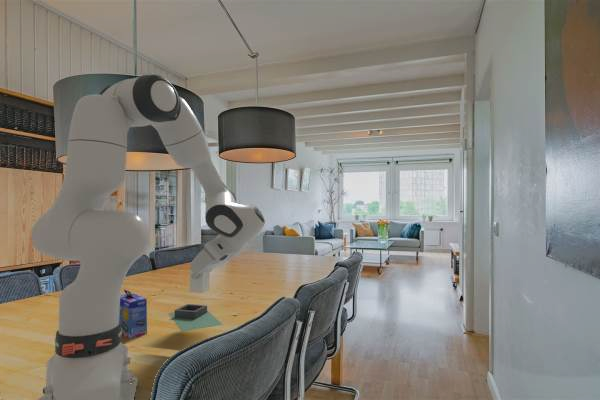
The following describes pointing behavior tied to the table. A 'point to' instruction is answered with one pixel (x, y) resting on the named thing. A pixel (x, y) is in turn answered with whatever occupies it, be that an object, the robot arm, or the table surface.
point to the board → (196, 323)
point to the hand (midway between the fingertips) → (198, 275)
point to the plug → (199, 282)
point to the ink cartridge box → (133, 315)
